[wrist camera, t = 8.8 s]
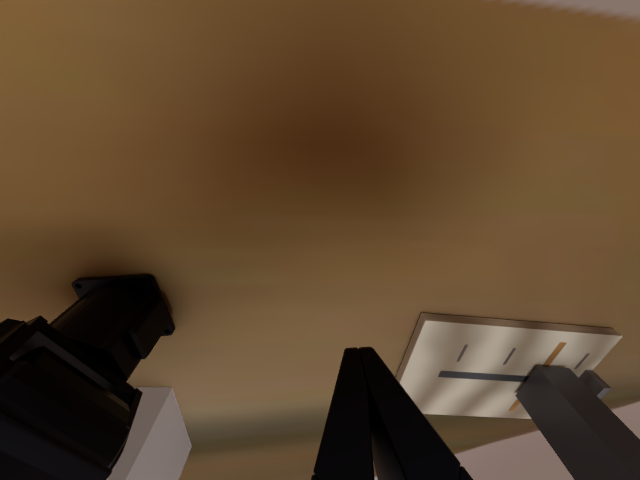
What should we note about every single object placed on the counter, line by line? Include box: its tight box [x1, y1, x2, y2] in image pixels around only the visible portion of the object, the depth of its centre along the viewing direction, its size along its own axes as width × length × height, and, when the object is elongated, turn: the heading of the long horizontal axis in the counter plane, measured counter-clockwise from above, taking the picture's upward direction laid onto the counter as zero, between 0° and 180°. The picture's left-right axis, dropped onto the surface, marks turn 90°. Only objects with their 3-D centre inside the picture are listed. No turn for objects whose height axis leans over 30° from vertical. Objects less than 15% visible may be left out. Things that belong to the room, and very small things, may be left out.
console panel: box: [396, 313, 623, 419], centre depth 27 cm, size 20×14×3 cm
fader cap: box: [515, 366, 640, 480], centre depth 23 cm, size 4×5×10 cm
